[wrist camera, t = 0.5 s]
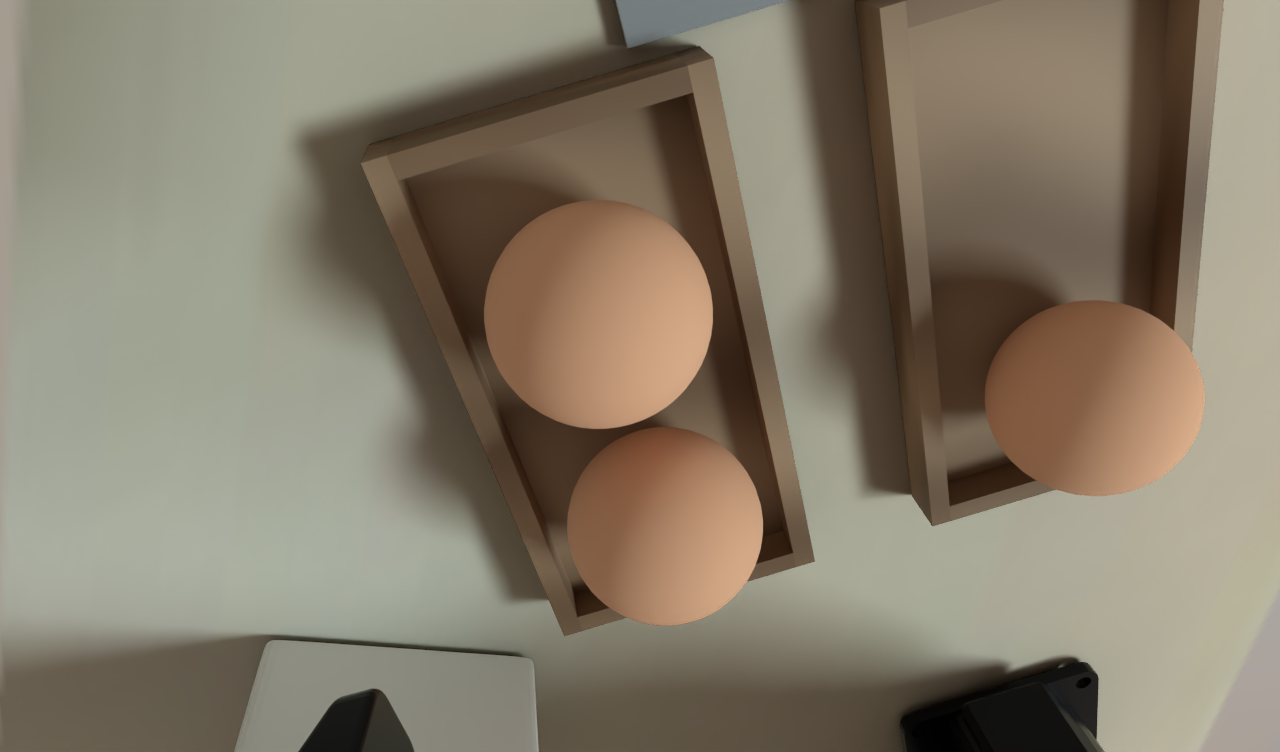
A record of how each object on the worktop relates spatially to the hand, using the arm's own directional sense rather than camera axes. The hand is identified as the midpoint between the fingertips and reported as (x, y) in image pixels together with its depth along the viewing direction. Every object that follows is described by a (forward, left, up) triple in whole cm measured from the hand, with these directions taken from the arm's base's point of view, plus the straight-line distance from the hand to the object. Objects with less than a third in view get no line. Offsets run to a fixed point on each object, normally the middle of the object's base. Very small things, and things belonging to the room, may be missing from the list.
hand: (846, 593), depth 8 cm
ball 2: (-7, +2, -9) cm, 12 cm away
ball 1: (-1, +2, -9) cm, 10 cm away
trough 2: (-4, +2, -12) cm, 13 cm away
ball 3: (-7, -8, -9) cm, 14 cm away
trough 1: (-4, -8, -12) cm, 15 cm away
